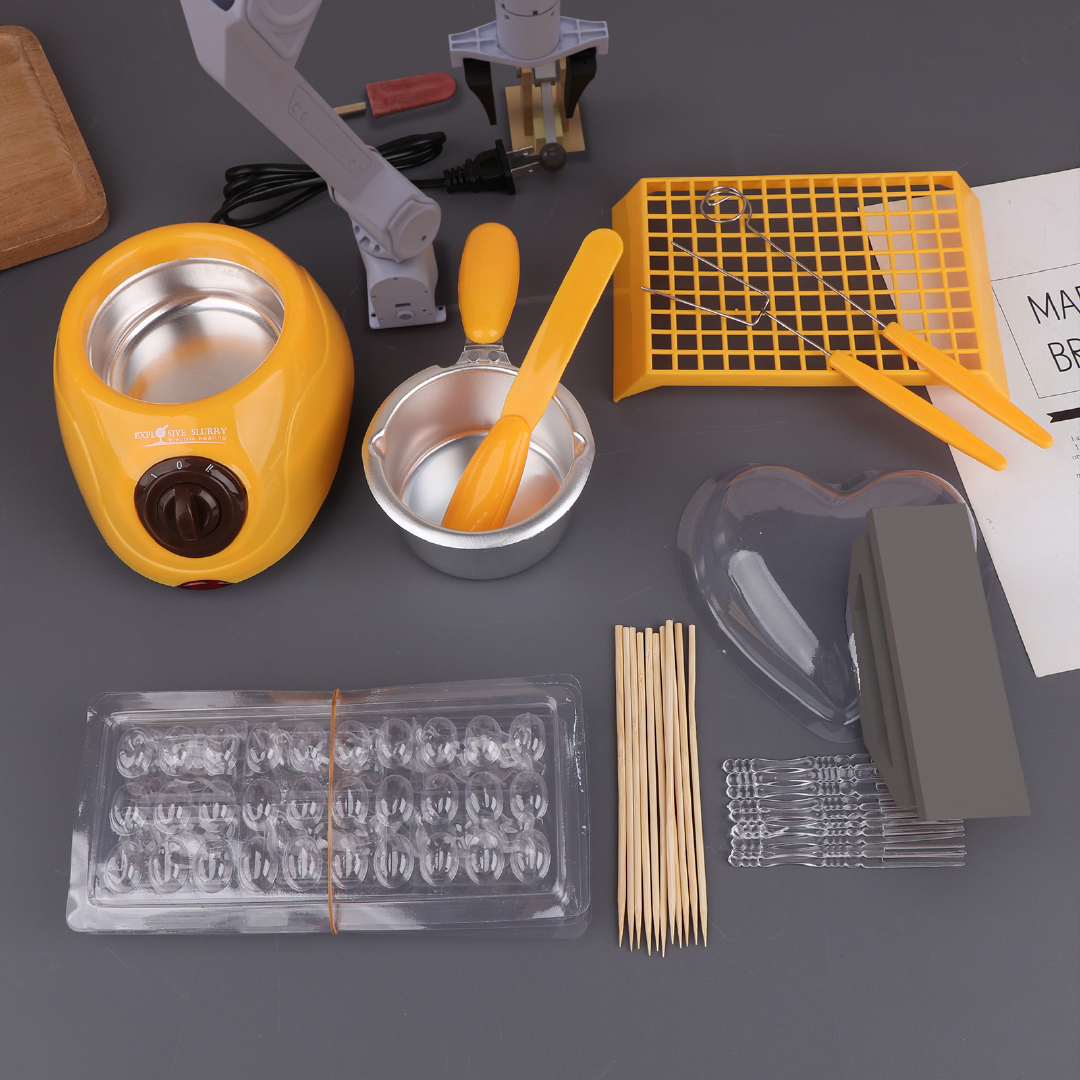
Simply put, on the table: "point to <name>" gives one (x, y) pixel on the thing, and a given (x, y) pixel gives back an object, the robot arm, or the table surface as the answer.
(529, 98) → the wooden lever stand
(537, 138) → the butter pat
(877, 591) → the grey stepped block
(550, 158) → the knife lever
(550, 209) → the table surface
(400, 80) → the popsicle
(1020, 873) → the table surface
